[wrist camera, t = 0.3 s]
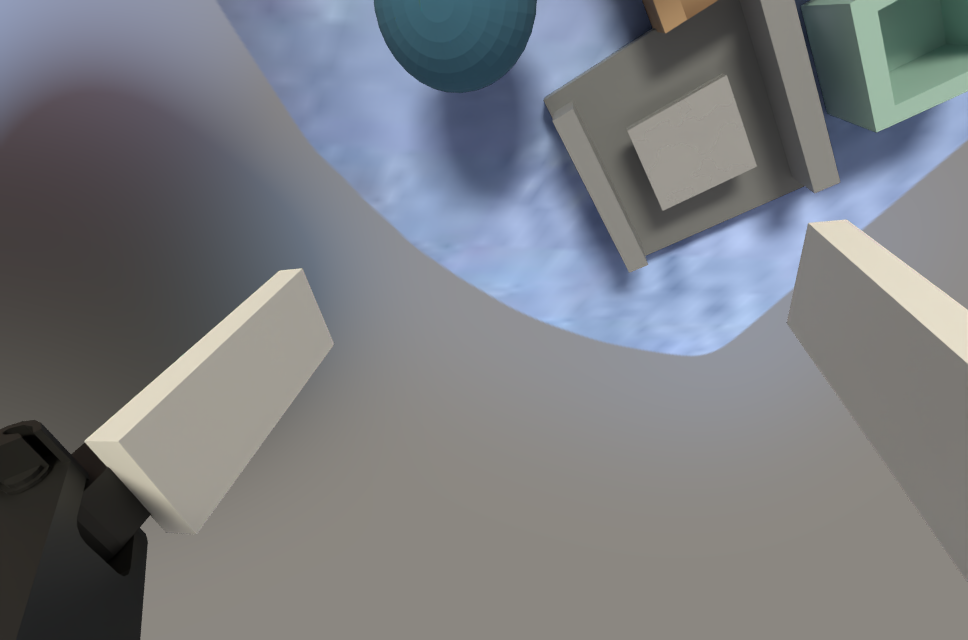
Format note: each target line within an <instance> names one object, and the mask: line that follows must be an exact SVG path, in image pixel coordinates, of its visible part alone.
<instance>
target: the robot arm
mask: <svg viewBox="0 0 968 640" xmlns="http://www.w3.org/2000/svg"><path fill="white" fill-rule="evenodd" d="M787 324H788V326H789V327H790V328H791V330H792V331H793V333H794V334H795V336H796V337H797V339H798V340H799V342H800V343H801V344H802V346H803V347H804V349H805V350H806V352H807V353H808V354H809V356H810V357H811V359H812V360H813V362H814V363H815V364H816V366H817V367H818V369H819V370H820V372H821V373H822V375H823V376H824V377H825V379H826V380H827V382H828V383H829V385H830V386H831V388H832V389H833V390H834V392H835V393H836V395H837V396H838V397H839V399H840V400H841V402H842V403H843V405H844V406H845V408H846V409H847V410H848V412H849V413H850V415H851V416H852V418H853V419H854V421H855V422H856V423H857V425H858V426H859V428H860V429H861V431H862V432H863V434H864V435H865V436H866V438H867V439H868V441H869V442H870V444H871V445H872V446H873V448H874V449H875V451H876V452H877V454H878V455H879V456H880V458H881V459H882V461H883V462H884V464H885V465H886V466H887V468H888V469H889V471H890V472H891V474H892V475H893V476H894V478H895V479H896V481H897V482H898V484H899V485H900V487H901V488H902V490H903V491H904V492H905V494H906V495H907V497H908V498H909V500H910V501H911V502H912V504H913V505H914V507H915V508H916V509H917V511H918V513H919V514H920V515H921V517H922V518H923V520H924V521H925V523H926V524H927V525H928V527H929V528H930V530H931V531H932V533H933V534H934V535H935V537H936V538H937V540H938V541H939V543H940V544H941V545H942V547H943V548H944V550H945V551H946V553H947V554H948V556H949V557H950V559H951V560H952V561H953V563H954V564H955V566H956V567H957V569H958V570H959V571H960V573H961V574H962V576H963V577H964V579H965V580H966V581H967V582H968V310H967V309H966V308H964V307H963V306H962V305H960V304H959V303H957V302H956V301H955V300H953V299H952V298H951V297H949V296H948V295H947V294H946V293H944V292H943V291H942V290H940V289H939V288H938V287H936V286H935V285H934V284H932V283H931V282H929V281H928V280H927V279H925V278H924V277H923V276H921V275H920V274H919V273H917V272H916V271H915V270H913V269H912V268H911V267H909V266H908V265H907V264H905V263H904V262H903V261H901V260H900V259H899V258H897V257H896V256H895V255H893V254H892V253H891V252H889V251H888V250H886V249H885V248H884V247H883V246H881V245H880V244H879V243H877V242H876V241H875V240H873V239H872V238H871V237H869V236H868V235H866V234H865V233H864V232H862V231H861V230H860V229H858V228H857V227H856V226H854V225H853V224H852V223H850V222H849V221H848V220H837V221H826V222H815V223H808V226H807V231H806V235H805V240H804V245H803V249H802V254H801V259H800V263H799V268H798V272H797V277H796V282H795V286H794V291H793V296H792V300H791V305H790V310H789V314H788V319H787ZM333 345H334V343H333V340H332V338H331V336H330V333H329V331H328V328H327V326H326V323H325V321H324V319H323V316H322V314H321V312H320V309H319V307H318V304H317V302H316V300H315V297H314V295H313V293H312V290H311V288H310V285H309V283H308V281H307V278H306V276H305V273H304V271H303V269H291V270H280V271H278V272H277V273H276V274H275V275H274V276H273V277H272V278H271V279H269V280H268V281H267V282H266V283H265V284H264V285H262V286H261V287H260V288H259V289H258V290H257V291H256V292H254V293H253V294H252V295H251V296H250V297H249V298H248V299H246V300H245V301H244V302H243V303H242V304H241V305H240V306H238V307H237V308H236V309H235V310H234V311H233V312H232V313H230V314H229V315H228V316H227V317H226V318H225V319H224V320H223V321H221V322H220V323H219V324H218V325H217V326H216V327H214V328H213V329H212V330H211V331H210V332H209V333H207V335H205V336H204V337H203V338H202V339H201V340H199V341H198V342H197V343H196V344H195V345H194V346H193V347H191V348H190V349H189V350H188V351H187V352H186V353H185V354H183V356H181V357H180V358H179V359H178V360H177V361H176V362H174V363H173V364H172V365H171V366H170V367H169V368H167V369H166V370H165V371H164V372H163V373H162V374H160V375H159V376H158V377H157V378H156V379H155V380H154V381H152V382H151V383H150V384H149V385H148V386H147V387H146V388H144V389H143V390H142V391H141V392H140V393H139V394H138V395H136V396H135V397H134V398H133V399H132V400H131V401H130V402H128V403H127V404H126V405H125V406H124V407H123V408H122V409H121V410H119V411H118V412H117V413H116V414H115V415H114V416H112V417H111V418H110V419H109V420H108V421H107V422H106V423H104V424H103V425H102V426H101V427H100V428H99V429H97V430H96V431H95V432H94V433H93V434H92V435H91V436H89V437H88V438H87V439H86V440H85V443H84V444H83V445H82V446H81V447H79V448H78V449H77V450H76V451H75V452H74V453H73V454H70V453H69V452H68V451H67V450H66V449H65V448H64V447H63V446H62V445H61V444H60V442H59V441H58V440H57V439H56V438H55V437H54V436H53V435H52V434H51V433H50V432H49V431H48V430H47V429H46V428H45V426H44V425H42V423H40V422H38V421H36V420H30V421H22V422H19V423H16V424H13V425H9V426H7V427H4V428H2V429H0V640H140V634H141V621H142V609H143V596H144V583H145V570H146V558H147V544H148V541H147V537H146V534H145V533H144V532H143V531H142V530H141V529H140V527H141V525H142V524H143V523H144V522H145V521H146V519H147V518H148V517H149V516H150V515H151V516H152V518H153V519H154V520H155V521H156V522H157V523H158V524H159V525H160V526H161V528H162V529H163V530H164V531H165V532H166V533H179V534H197V533H198V532H199V530H200V529H201V528H202V526H203V525H204V524H205V522H206V521H207V519H208V518H209V517H210V515H211V514H212V512H213V511H214V510H215V508H216V507H217V506H218V504H219V503H220V501H221V500H222V499H223V497H224V496H225V495H226V493H227V492H228V490H229V489H230V488H231V486H232V485H233V483H234V482H235V481H236V479H237V478H238V476H239V475H240V474H241V472H242V471H243V470H244V468H245V467H246V465H247V464H248V463H249V461H250V460H251V458H252V457H253V456H254V454H255V453H256V452H257V450H258V449H259V447H260V446H261V445H262V443H263V442H264V441H265V439H266V438H267V436H268V435H269V433H270V432H271V431H272V429H273V428H274V427H275V425H276V424H277V422H278V421H279V420H280V418H281V417H282V416H283V414H284V413H285V412H286V410H287V409H288V407H289V406H290V405H291V403H292V402H293V400H294V399H295V398H296V396H297V395H298V394H299V392H300V391H301V389H302V388H303V387H304V385H305V384H306V383H307V381H308V380H309V378H310V377H311V376H312V374H313V373H314V371H315V370H316V368H317V367H318V366H319V364H320V363H321V362H322V360H323V359H324V358H325V356H326V355H327V353H328V352H329V351H330V349H331V348H332V346H333Z"/></svg>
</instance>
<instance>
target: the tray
mask: <svg viewBox="0 0 968 640" xmlns="http://www.w3.org/2000/svg"><path fill="white" fill-rule="evenodd" d="M716 1H718V0H642V2H643V4H644V7H645V9H646V12H647V15H648V17H649V20H650V23H651V25H652V28H655V29H656V30H657V32H660V33H667V32H669V31H670V30H672V29H673V28H675V27H677V26H678V25H680V24H681V23H683V22H684V21H686V20H688V19H689V18H691V17H692V16H694V15H696V14H697V13H699V12H700V11H702V10H704V9H705V8H707V7H708V6H710V5H712V4H713V3H715V2H716Z"/></svg>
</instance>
